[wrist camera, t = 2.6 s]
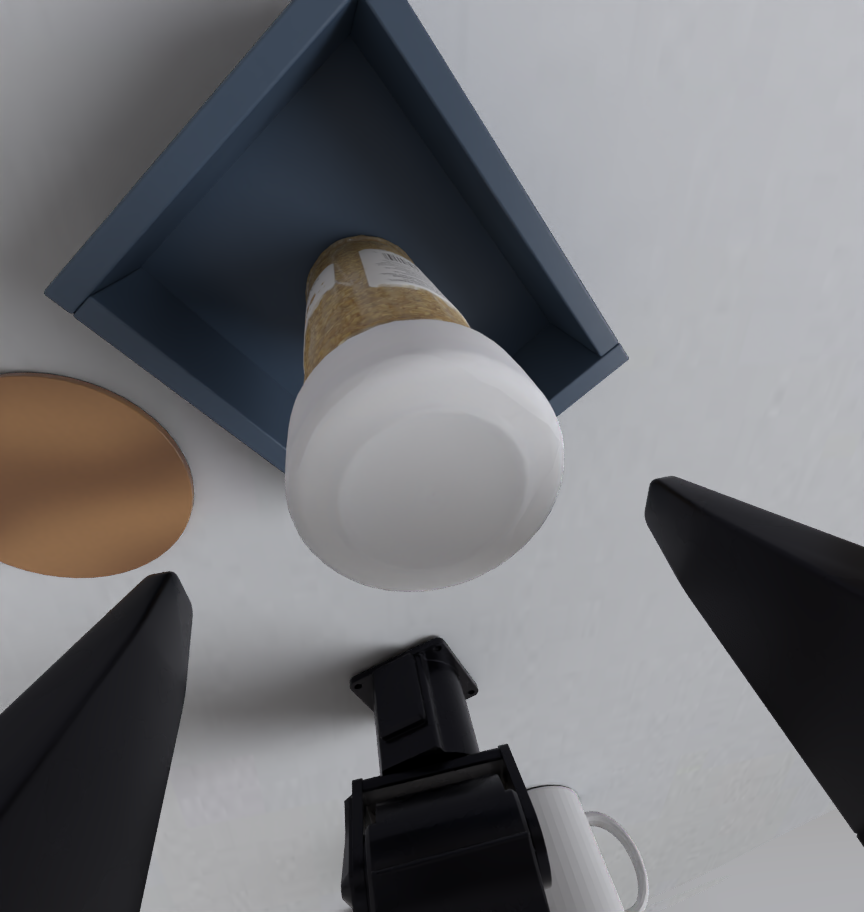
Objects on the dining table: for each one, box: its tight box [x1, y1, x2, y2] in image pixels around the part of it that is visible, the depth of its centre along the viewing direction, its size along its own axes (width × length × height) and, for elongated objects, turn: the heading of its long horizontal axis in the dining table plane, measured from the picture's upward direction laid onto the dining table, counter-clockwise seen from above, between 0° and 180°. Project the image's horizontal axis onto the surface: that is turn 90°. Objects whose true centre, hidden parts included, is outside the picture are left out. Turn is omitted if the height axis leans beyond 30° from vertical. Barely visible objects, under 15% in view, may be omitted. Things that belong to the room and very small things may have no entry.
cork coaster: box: [0, 372, 194, 578], centre depth 21 cm, size 10×10×1 cm
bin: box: [44, 0, 629, 473], centre depth 17 cm, size 14×12×5 cm
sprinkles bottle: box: [285, 235, 564, 592], centre depth 13 cm, size 5×5×13 cm
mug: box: [527, 786, 649, 912], centre depth 41 cm, size 11×10×10 cm
